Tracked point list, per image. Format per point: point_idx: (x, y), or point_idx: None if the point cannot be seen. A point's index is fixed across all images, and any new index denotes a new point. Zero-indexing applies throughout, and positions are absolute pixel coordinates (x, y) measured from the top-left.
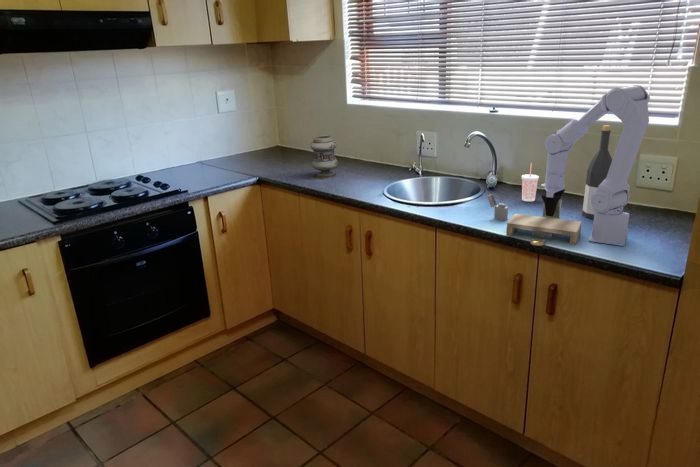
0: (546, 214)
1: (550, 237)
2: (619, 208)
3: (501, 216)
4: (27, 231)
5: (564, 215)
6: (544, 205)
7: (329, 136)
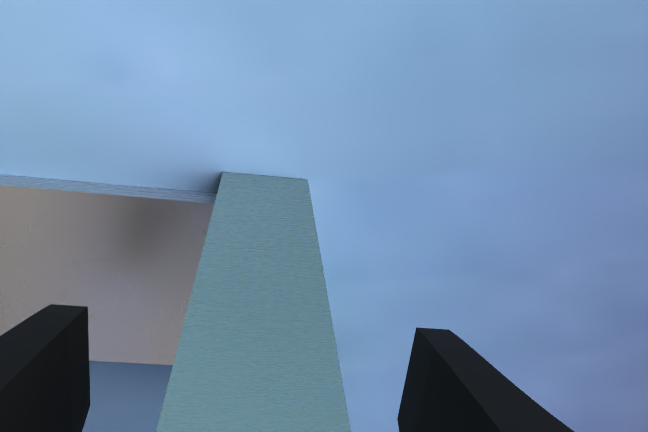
0: (35, 317)
1: None
2: None
3: None
4: None
5: (585, 401)
6: (181, 333)
7: None
